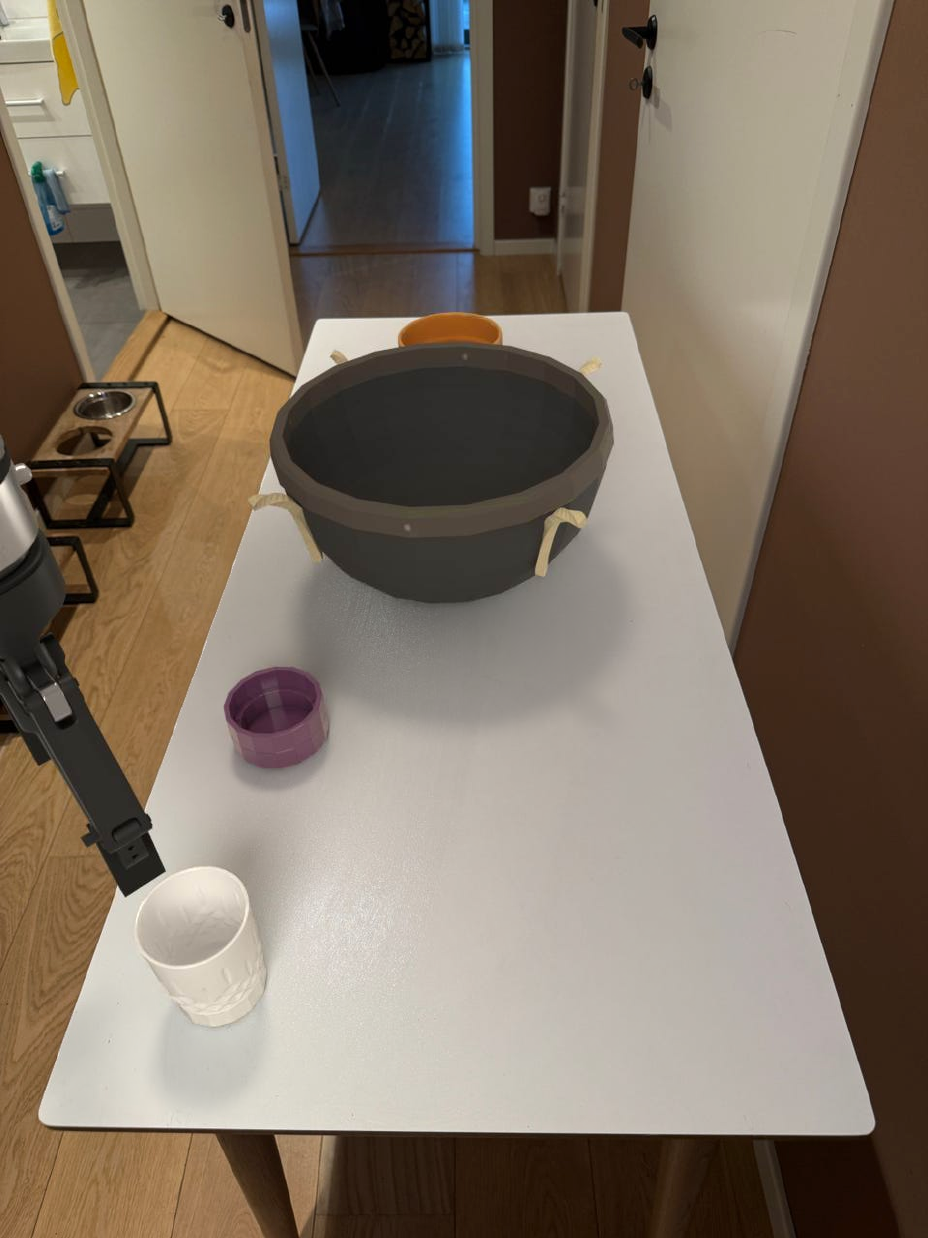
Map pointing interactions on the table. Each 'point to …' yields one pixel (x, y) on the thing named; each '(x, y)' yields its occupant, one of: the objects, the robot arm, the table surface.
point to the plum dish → (276, 717)
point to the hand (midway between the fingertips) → (96, 812)
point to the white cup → (203, 944)
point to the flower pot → (451, 329)
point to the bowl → (441, 466)
